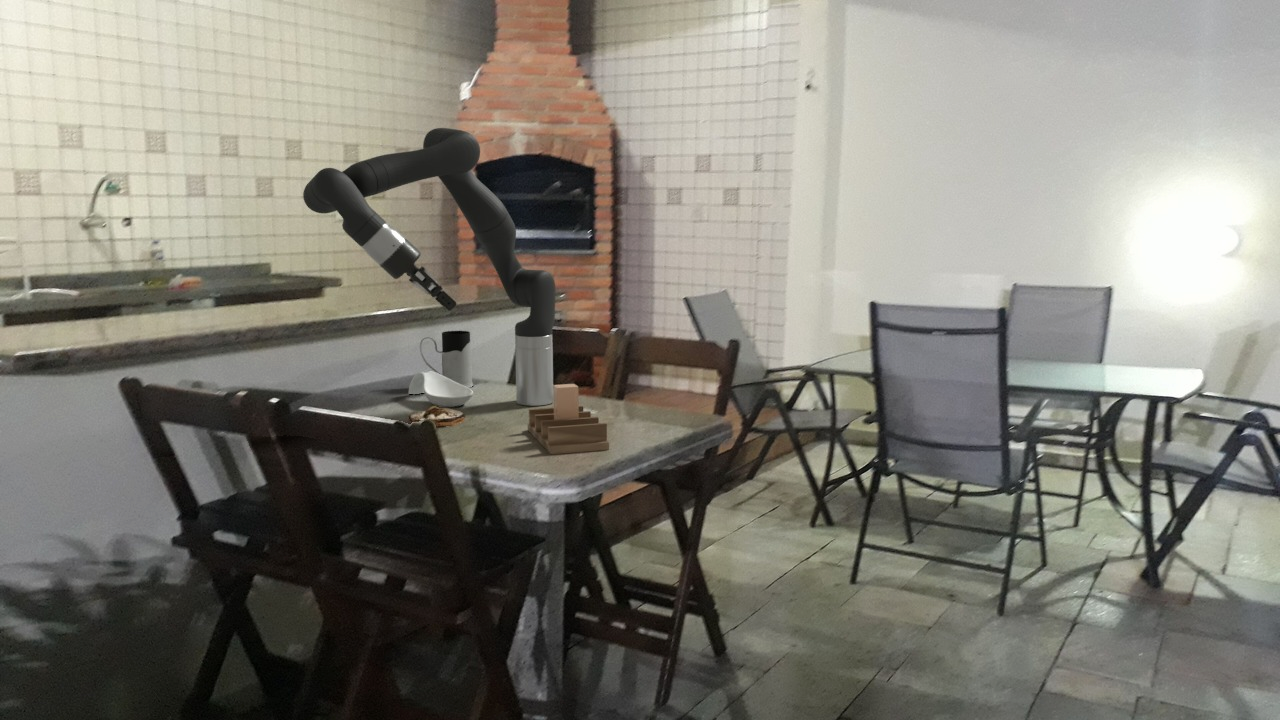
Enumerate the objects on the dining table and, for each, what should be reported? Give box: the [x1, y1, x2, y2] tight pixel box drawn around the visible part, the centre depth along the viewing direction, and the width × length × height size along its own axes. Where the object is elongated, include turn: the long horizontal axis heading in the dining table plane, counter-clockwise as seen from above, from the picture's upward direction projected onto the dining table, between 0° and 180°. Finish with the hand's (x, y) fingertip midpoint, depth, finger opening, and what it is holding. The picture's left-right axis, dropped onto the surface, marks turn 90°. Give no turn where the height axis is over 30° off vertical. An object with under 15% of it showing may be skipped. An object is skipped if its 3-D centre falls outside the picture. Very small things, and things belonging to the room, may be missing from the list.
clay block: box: [553, 383, 580, 420], centre depth 197 cm, size 4×4×10 cm
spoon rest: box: [407, 370, 474, 408], centre depth 237 cm, size 24×12×7 cm, turn 41°
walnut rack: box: [527, 405, 610, 455], centre depth 198 cm, size 22×12×5 cm, turn 19°
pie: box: [408, 405, 466, 429], centre depth 215 cm, size 15×15×4 cm
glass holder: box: [419, 330, 474, 388], centre depth 256 cm, size 9×14×15 cm, turn 91°
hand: (450, 305), depth 194 cm, fingers open, 8 cm apart
